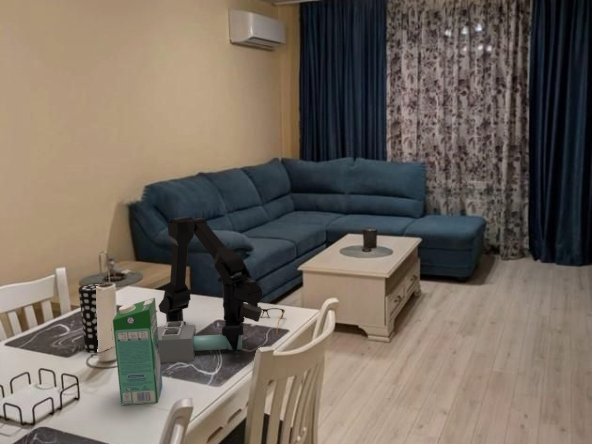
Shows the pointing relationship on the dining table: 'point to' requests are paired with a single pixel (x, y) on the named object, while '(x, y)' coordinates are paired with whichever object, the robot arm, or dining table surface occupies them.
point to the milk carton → (138, 353)
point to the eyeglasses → (274, 308)
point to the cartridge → (213, 342)
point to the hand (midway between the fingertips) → (235, 346)
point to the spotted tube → (89, 316)
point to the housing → (176, 343)
